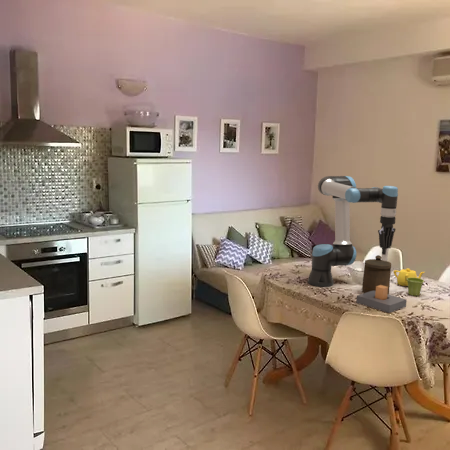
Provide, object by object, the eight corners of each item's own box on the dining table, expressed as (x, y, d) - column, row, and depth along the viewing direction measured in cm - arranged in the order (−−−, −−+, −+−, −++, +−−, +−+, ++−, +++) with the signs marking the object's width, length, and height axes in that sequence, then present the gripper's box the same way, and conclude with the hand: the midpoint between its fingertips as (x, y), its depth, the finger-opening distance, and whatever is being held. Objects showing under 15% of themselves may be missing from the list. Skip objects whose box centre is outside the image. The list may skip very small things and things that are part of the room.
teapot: (410, 281, 322) (411, 265, 320) (424, 287, 310) (425, 270, 308) (391, 282, 318) (392, 266, 316) (404, 288, 306) (405, 272, 304)
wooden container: (391, 292, 299) (395, 255, 295) (384, 298, 286) (388, 260, 283) (366, 287, 307) (369, 251, 303) (358, 293, 294) (361, 256, 290)
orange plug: (374, 302, 276) (375, 286, 274) (379, 301, 279) (380, 284, 277) (382, 304, 272) (383, 288, 271) (386, 303, 275) (388, 286, 274)
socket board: (356, 302, 278) (356, 295, 277) (373, 297, 288) (373, 290, 288) (389, 312, 263) (389, 305, 262) (405, 306, 273) (406, 299, 273)
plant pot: (424, 293, 297) (425, 279, 296) (421, 298, 289) (422, 283, 288) (407, 290, 302) (408, 276, 300) (403, 295, 294) (405, 280, 292)
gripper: (387, 218, 260) (383, 263, 265) (401, 216, 269) (397, 260, 273) (374, 216, 266) (371, 260, 270) (388, 214, 274) (385, 257, 279)
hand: (384, 260), depth 272 cm, fingers closed
